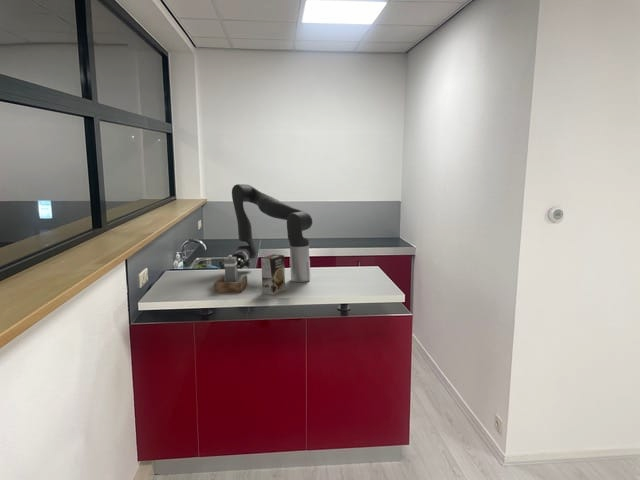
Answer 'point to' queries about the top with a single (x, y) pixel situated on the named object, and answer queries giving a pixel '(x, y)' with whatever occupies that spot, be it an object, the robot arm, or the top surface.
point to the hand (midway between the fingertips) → (231, 266)
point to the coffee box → (273, 274)
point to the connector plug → (231, 269)
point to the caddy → (230, 285)
